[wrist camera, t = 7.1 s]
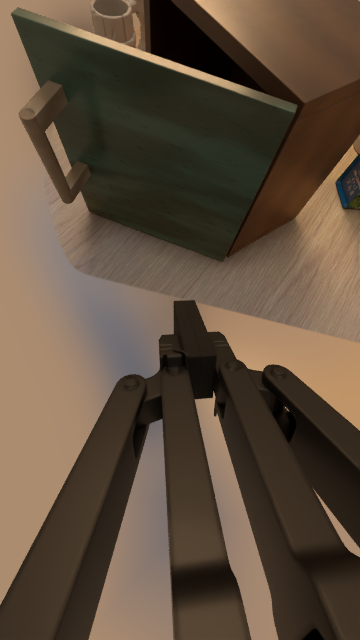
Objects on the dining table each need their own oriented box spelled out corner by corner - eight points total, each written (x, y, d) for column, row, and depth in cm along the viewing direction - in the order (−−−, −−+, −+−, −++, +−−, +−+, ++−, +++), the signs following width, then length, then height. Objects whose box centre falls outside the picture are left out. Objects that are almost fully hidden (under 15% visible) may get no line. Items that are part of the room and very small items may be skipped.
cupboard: (227, 257, 36) (305, 103, 17) (150, 161, 41) (141, -49, 21) (295, 217, 40) (425, 50, 20) (217, 132, 44) (263, -72, 25)
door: (212, 290, 34) (279, 162, 15) (72, 237, 35) (-34, 50, 16) (224, 256, 36) (298, 104, 17) (91, 206, 37) (17, 6, 18)
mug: (92, 82, 45) (69, -22, 34) (137, 60, 48) (131, -43, 37) (118, 104, 44) (104, 3, 33) (163, 79, 47) (164, -20, 36)
